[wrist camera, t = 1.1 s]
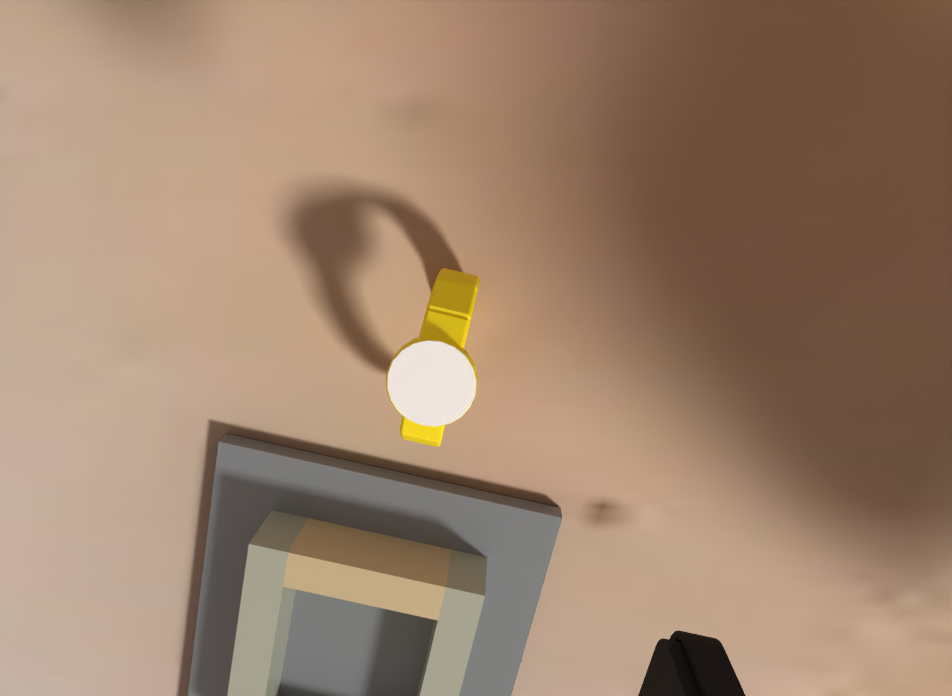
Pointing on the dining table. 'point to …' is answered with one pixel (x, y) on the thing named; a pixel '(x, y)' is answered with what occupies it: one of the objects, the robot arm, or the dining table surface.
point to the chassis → (362, 580)
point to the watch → (436, 363)
